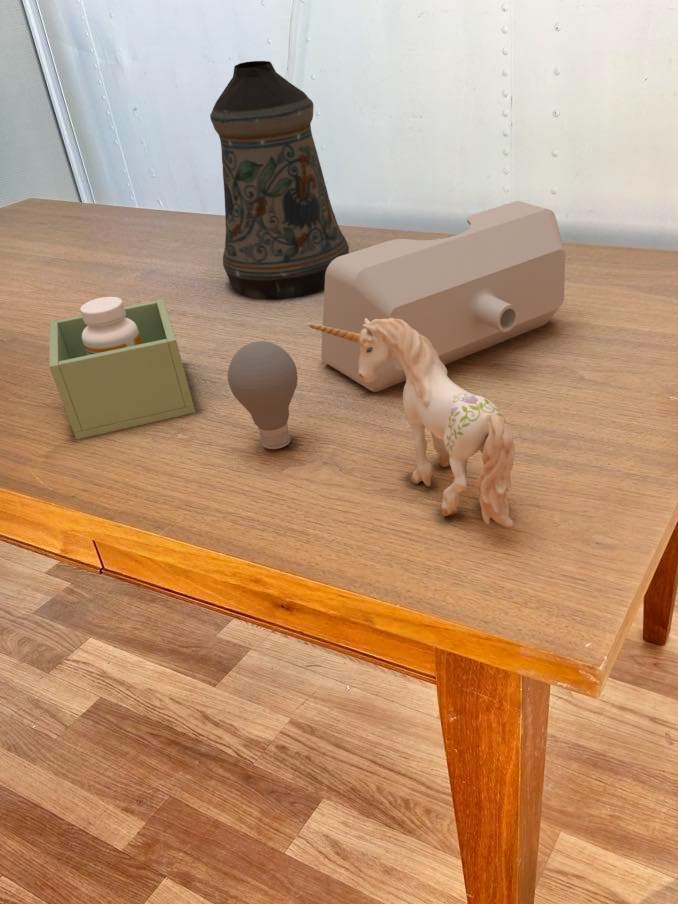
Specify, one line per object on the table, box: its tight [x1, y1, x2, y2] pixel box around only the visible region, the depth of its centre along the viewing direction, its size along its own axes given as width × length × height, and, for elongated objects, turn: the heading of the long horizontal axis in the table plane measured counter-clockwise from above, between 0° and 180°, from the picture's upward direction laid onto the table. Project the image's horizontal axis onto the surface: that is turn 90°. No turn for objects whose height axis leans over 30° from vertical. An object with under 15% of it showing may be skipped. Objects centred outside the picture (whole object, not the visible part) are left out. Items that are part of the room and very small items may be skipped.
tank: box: [320, 200, 566, 393], centre depth 86 cm, size 25×16×12 cm, turn 125°
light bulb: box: [227, 341, 298, 450], centre depth 75 cm, size 6×6×10 cm
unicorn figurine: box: [306, 318, 516, 528], centre depth 66 cm, size 7×20×13 cm, turn 46°
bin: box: [48, 298, 196, 440], centre depth 85 cm, size 12×12×8 cm
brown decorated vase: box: [209, 60, 350, 301], centre depth 106 cm, size 16×19×25 cm
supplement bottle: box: [79, 296, 142, 355], centre depth 84 cm, size 5×5×10 cm
